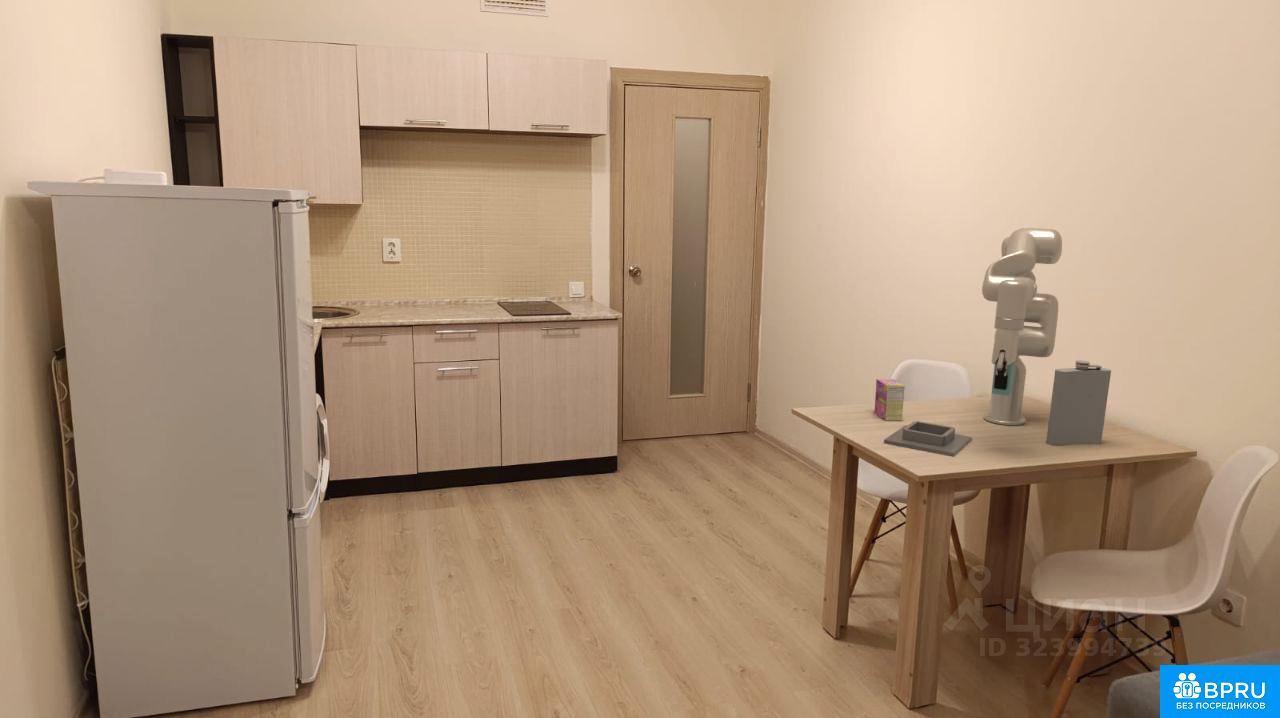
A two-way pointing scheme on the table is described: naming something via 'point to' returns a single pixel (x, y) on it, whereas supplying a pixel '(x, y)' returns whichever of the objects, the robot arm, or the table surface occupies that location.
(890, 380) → the box
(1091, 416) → the flask
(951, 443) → the well
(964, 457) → the table surface
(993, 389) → the block
